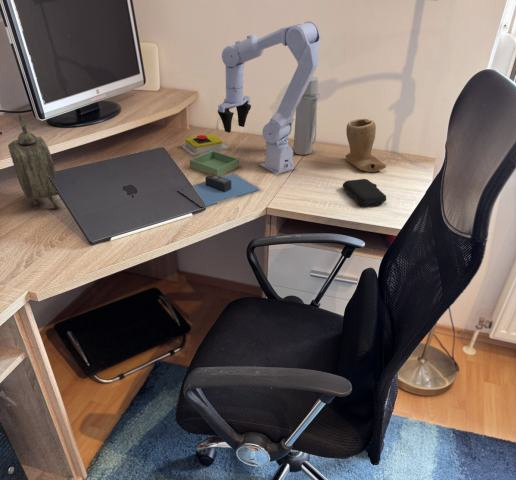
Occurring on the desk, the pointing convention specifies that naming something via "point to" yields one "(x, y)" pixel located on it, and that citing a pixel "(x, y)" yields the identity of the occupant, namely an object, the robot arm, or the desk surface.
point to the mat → (214, 195)
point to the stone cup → (362, 145)
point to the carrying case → (364, 192)
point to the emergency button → (203, 144)
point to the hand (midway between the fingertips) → (234, 129)
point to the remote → (218, 182)
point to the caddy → (214, 163)
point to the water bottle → (306, 119)
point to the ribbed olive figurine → (33, 165)
